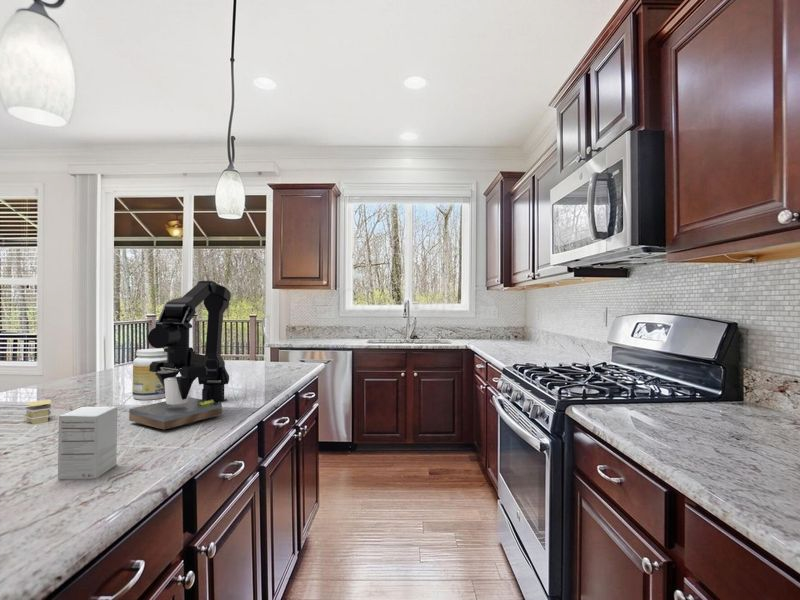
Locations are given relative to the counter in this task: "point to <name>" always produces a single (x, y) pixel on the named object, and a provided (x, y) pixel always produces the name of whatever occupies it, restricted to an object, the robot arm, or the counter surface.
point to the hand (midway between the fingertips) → (177, 397)
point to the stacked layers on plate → (38, 411)
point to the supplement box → (87, 442)
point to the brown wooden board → (176, 422)
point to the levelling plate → (175, 409)
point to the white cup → (173, 392)
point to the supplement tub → (147, 375)
